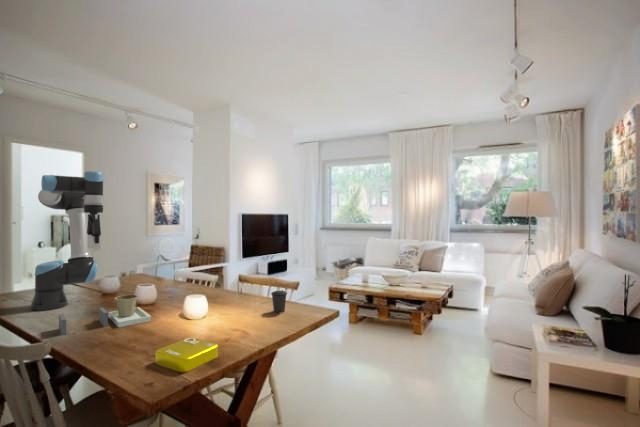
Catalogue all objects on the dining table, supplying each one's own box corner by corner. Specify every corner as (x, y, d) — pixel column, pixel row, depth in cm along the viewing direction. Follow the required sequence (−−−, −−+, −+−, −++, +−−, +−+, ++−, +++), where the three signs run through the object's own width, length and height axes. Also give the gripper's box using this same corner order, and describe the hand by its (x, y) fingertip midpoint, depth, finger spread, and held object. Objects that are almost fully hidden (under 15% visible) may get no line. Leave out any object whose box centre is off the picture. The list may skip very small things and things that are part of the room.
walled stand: (58, 328, 144) (58, 314, 144) (103, 320, 155) (103, 307, 155) (61, 335, 137) (61, 320, 137) (107, 326, 147) (107, 312, 147)
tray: (108, 317, 160) (108, 312, 160) (138, 311, 169) (138, 307, 169) (118, 327, 146) (118, 322, 146) (151, 321, 154) (151, 316, 154)
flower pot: (126, 319, 155) (126, 300, 155) (109, 317, 157) (109, 298, 157) (142, 313, 164) (142, 295, 164) (126, 311, 166) (126, 294, 166)
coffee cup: (288, 309, 174) (288, 289, 174) (285, 313, 166) (285, 293, 166) (273, 308, 175) (273, 289, 175) (269, 313, 166) (269, 292, 167)
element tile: (152, 364, 111) (152, 349, 111) (190, 348, 124) (190, 335, 124) (184, 374, 104) (184, 358, 104) (220, 356, 117) (220, 342, 117)
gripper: (80, 204, 168) (79, 247, 168) (88, 203, 150) (88, 252, 150) (97, 205, 173) (97, 246, 173) (108, 204, 155) (108, 250, 155)
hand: (93, 249), depth 162 cm, fingers open, 13 cm apart
